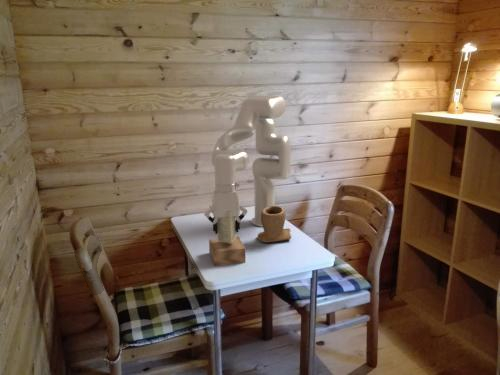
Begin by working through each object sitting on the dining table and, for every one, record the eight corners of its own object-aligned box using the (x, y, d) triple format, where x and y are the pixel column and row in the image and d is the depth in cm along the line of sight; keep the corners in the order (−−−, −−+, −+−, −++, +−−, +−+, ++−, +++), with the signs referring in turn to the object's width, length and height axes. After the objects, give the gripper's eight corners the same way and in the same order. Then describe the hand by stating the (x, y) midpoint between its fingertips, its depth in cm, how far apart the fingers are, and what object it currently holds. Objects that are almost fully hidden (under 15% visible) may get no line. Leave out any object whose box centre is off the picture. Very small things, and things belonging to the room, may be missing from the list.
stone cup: (262, 247, 167) (262, 212, 163) (255, 236, 178) (255, 204, 174) (297, 243, 170) (298, 209, 166) (288, 233, 181) (288, 201, 178)
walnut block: (238, 250, 165) (238, 236, 163) (245, 263, 154) (245, 248, 152) (209, 253, 162) (208, 239, 160) (214, 266, 151) (213, 251, 149)
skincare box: (236, 239, 157) (236, 209, 153) (231, 243, 153) (230, 212, 150) (222, 236, 159) (221, 207, 156) (216, 240, 155) (215, 210, 152)
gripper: (246, 183, 155) (247, 226, 160) (201, 186, 152) (203, 230, 157) (250, 188, 148) (250, 233, 153) (202, 191, 145) (204, 237, 150)
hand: (226, 231), depth 155 cm, fingers open, 7 cm apart
